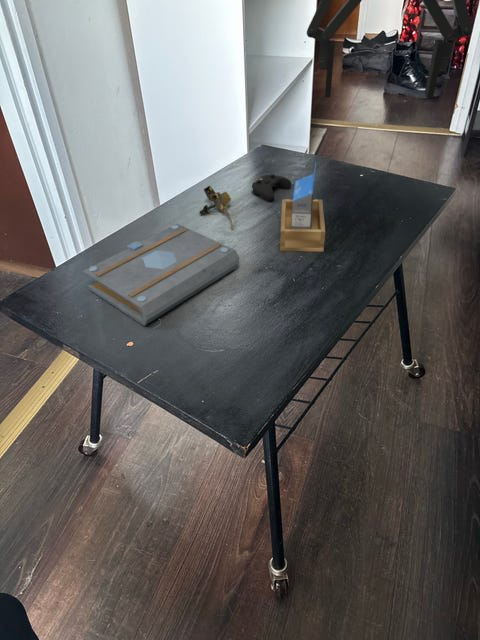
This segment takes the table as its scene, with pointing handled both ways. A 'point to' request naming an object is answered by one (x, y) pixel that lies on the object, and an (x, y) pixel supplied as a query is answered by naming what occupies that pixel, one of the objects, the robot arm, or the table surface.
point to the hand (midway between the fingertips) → (377, 95)
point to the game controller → (269, 186)
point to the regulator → (217, 202)
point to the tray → (302, 230)
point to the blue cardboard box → (303, 202)
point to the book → (161, 272)
